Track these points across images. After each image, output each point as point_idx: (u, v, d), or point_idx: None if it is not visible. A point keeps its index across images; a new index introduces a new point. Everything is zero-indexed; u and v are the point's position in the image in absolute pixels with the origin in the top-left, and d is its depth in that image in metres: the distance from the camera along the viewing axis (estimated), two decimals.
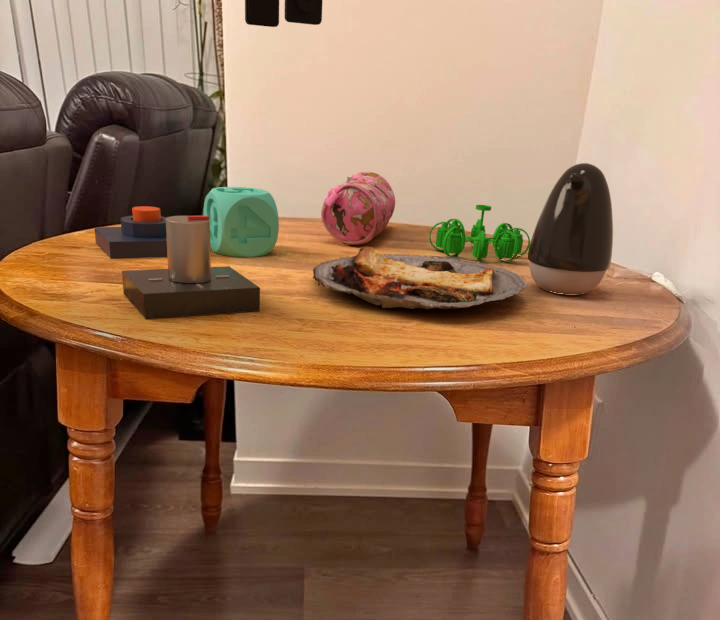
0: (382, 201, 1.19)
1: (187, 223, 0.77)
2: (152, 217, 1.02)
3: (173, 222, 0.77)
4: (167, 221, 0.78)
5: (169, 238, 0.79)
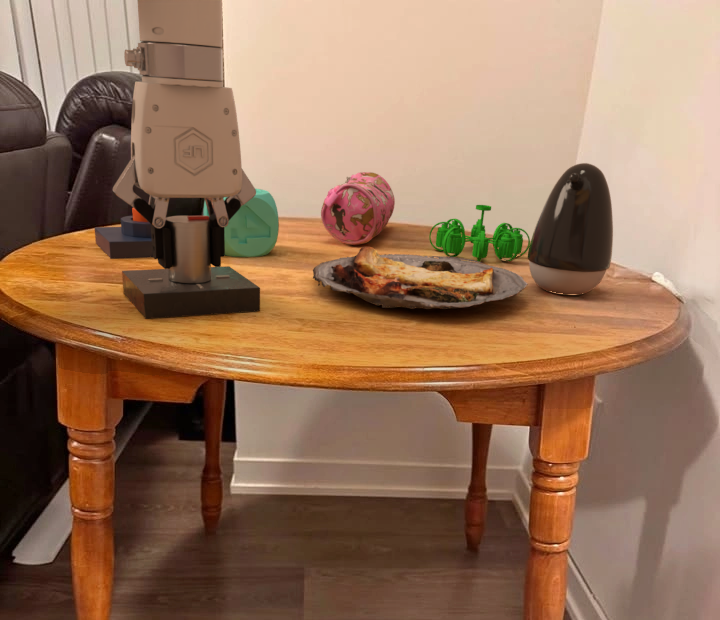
0: (382, 201, 1.19)
1: (187, 223, 0.77)
2: None
3: (173, 222, 0.77)
4: (167, 221, 0.78)
5: None
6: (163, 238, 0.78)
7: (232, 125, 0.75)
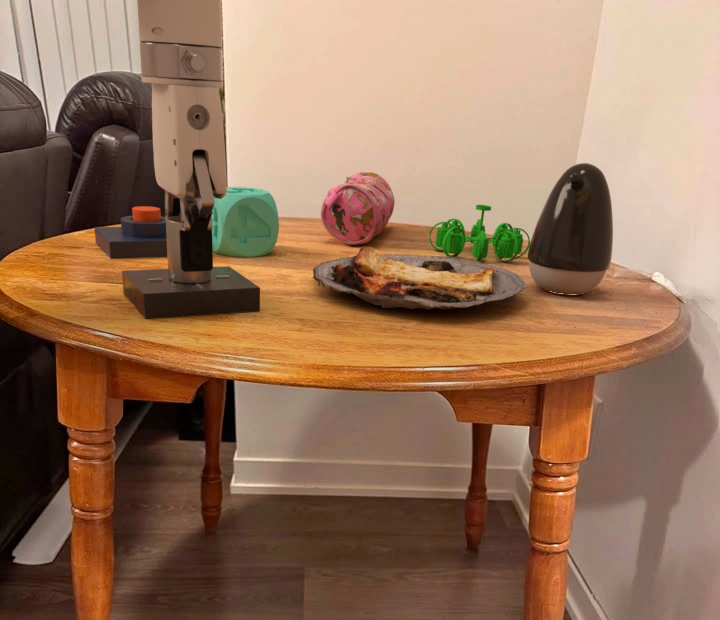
0: (381, 201, 1.19)
1: None
2: (152, 217, 1.02)
3: None
4: None
5: None
6: (208, 240, 0.78)
7: None
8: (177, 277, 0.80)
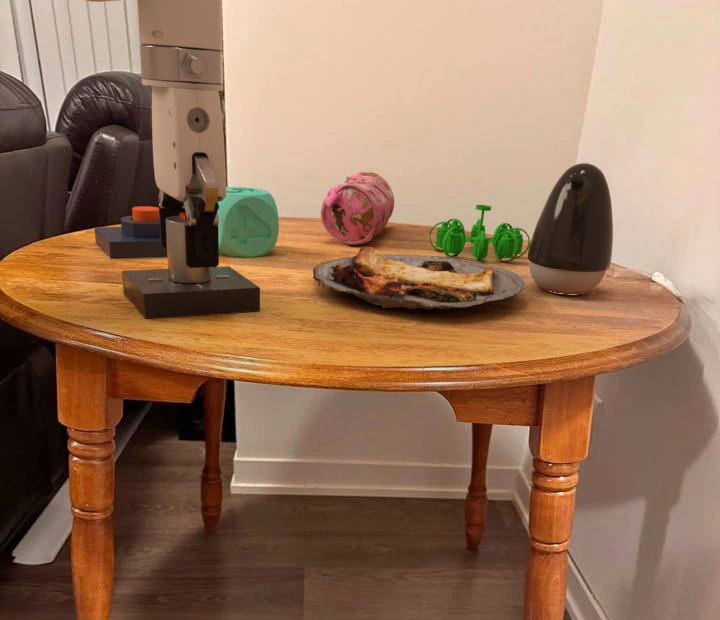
0: (381, 201, 1.19)
1: None
2: (152, 217, 1.02)
3: None
4: None
5: None
6: (215, 235, 0.76)
7: None
8: (177, 277, 0.80)
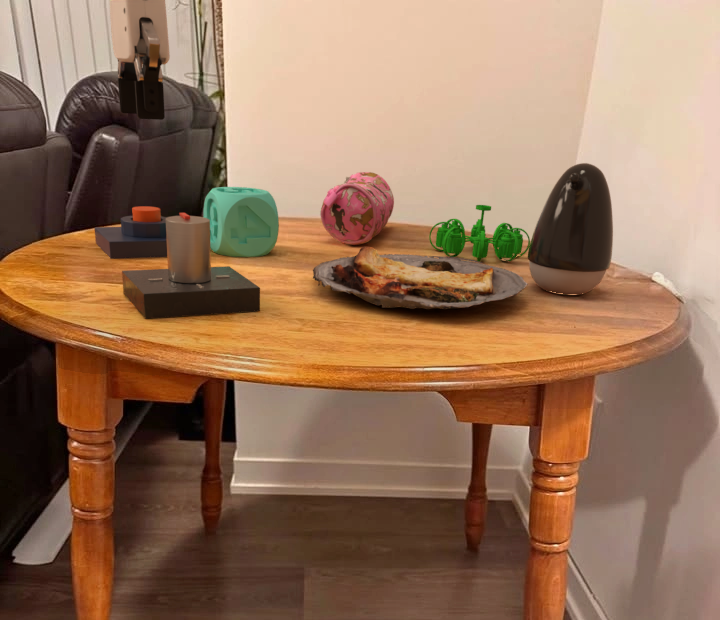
0: (381, 201, 1.19)
1: (208, 220, 0.79)
2: (152, 217, 1.02)
3: (204, 223, 0.78)
4: (196, 224, 0.78)
5: (198, 241, 0.78)
6: (160, 91, 0.92)
7: None
8: (177, 277, 0.80)
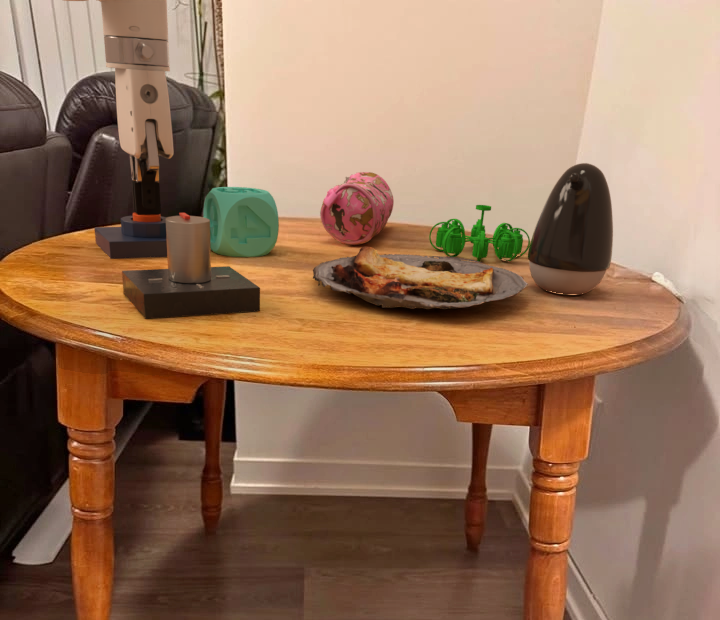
0: (381, 201, 1.19)
1: (208, 220, 0.79)
2: None
3: (204, 223, 0.78)
4: (196, 224, 0.78)
5: (198, 241, 0.78)
6: (157, 190, 1.01)
7: None
8: (177, 277, 0.80)
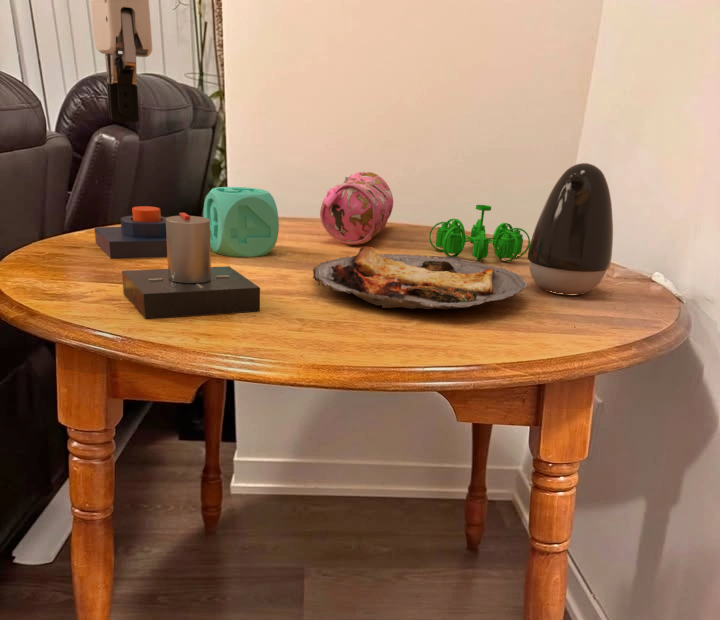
0: (380, 201, 1.19)
1: (208, 220, 0.79)
2: (152, 217, 1.02)
3: (204, 223, 0.78)
4: (196, 224, 0.78)
5: (198, 241, 0.78)
6: (134, 94, 0.93)
7: None
8: (177, 277, 0.80)
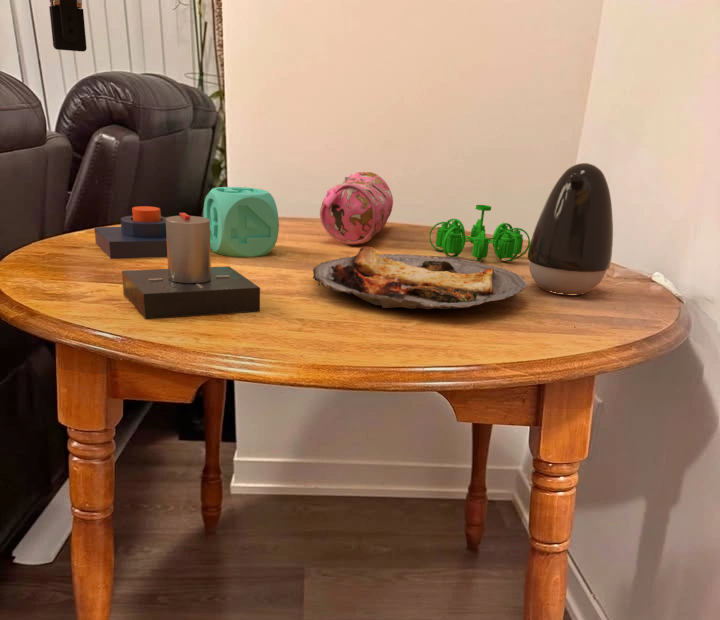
0: (380, 201, 1.19)
1: (208, 220, 0.79)
2: (152, 217, 1.02)
3: (204, 223, 0.78)
4: (196, 224, 0.78)
5: (198, 241, 0.78)
6: (80, 19, 0.83)
7: None
8: (177, 277, 0.80)
